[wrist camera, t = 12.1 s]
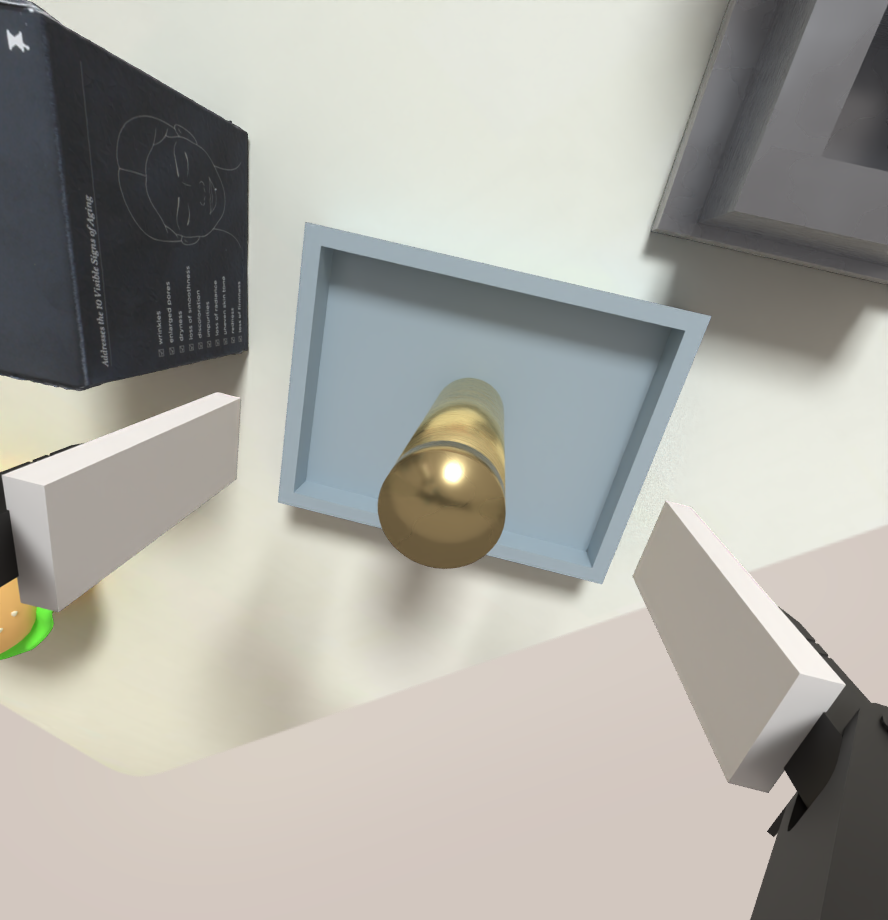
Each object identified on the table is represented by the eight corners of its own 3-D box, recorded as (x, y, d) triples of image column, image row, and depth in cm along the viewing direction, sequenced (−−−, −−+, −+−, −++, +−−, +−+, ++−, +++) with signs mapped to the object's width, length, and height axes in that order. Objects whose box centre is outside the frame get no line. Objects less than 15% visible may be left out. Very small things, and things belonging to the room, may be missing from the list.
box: (119, 108, 22) (-181, -36, 12) (252, 128, 22) (51, -2, 12) (136, 335, 26) (-84, 363, 16) (250, 356, 26) (95, 397, 16)
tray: (296, 484, 28) (277, 502, 26) (325, 228, 23) (305, 222, 21) (593, 559, 27) (602, 584, 25) (689, 313, 22) (711, 316, 20)
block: (650, 231, 21) (687, 216, 17) (748, -56, 18) (825, -163, 14) (915, 291, 21) (1019, 291, 17) (1069, 11, 17) (1250, -79, 13)
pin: (428, 436, 25) (368, 550, 14) (442, 370, 24) (389, 437, 13) (493, 452, 25) (487, 581, 14) (512, 387, 24) (521, 469, 12)
